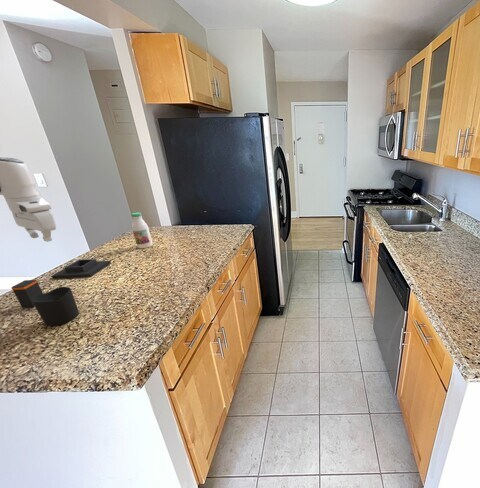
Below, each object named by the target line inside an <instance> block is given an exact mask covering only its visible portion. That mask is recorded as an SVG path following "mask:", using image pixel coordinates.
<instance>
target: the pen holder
mask: <svg viewBox="0 0 480 488" xmlns="http://www.w3.org/2000/svg"><path fill="white" fill-rule="evenodd" d="M31 301H32V303H33V304H34V306H35V307H34V308H35V309H36V311H37V313H38V314H39V316H40V318H41V319H42V322H43V324H45V325H46V326H49V327H57V326H61V325H64V324H67V323H69V322H71V321H73V320H74V319H76V318H77V317H78V316H79V314H80V311H79V307H78V305H77V302H76V299H75V296H74V293H73V291H72V289H71V287H69V286H59V287H56V288H54V289H51V290H50V291H48V292H45V293H43V294H40V295H36V296H34V297H33V298H32V299H31Z"/></svg>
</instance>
